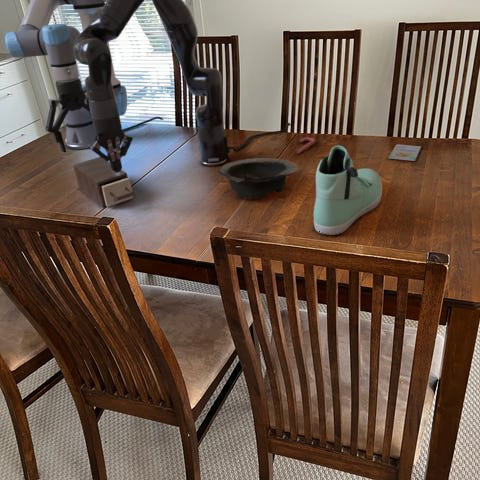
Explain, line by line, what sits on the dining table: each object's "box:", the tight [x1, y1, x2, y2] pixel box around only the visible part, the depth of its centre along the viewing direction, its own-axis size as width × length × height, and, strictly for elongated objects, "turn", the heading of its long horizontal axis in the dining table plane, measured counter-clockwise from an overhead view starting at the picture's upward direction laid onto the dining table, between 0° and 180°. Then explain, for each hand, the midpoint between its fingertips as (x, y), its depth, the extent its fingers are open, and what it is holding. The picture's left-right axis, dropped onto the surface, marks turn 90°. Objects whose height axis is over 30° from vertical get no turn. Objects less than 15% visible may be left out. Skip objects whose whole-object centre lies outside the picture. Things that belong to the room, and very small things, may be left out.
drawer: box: [100, 177, 136, 208], centre depth 154 cm, size 25×9×7 cm, turn 37°
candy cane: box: [295, 136, 316, 155], centre depth 183 cm, size 6×15×2 cm, turn 145°
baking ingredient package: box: [388, 143, 422, 162], centre depth 171 cm, size 9×1×15 cm
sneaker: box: [313, 145, 383, 236], centre depth 133 cm, size 14×35×20 cm, turn 152°
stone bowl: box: [217, 157, 299, 201], centre depth 152 cm, size 25×25×9 cm
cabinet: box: [72, 156, 129, 208], centre depth 158 cm, size 20×10×8 cm, turn 37°
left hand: (84, 145), depth 158 cm, fingers open, 13 cm apart
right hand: (117, 171), depth 143 cm, fingers closed
